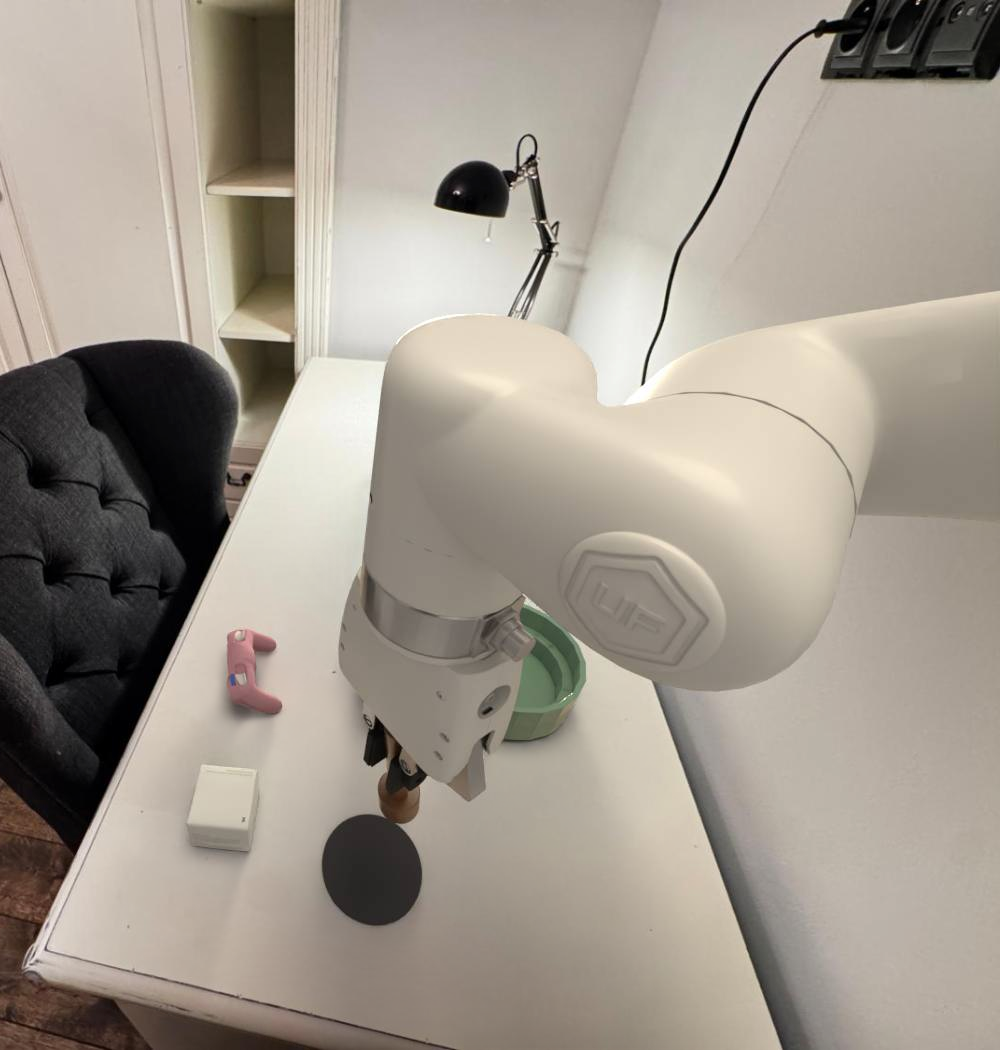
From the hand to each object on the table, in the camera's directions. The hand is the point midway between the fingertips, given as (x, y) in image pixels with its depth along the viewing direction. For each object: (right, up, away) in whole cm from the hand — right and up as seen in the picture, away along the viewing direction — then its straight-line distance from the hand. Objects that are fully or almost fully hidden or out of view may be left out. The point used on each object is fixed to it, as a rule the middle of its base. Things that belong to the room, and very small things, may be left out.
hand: (394, 765), depth 40 cm
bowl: (+17, -2, +27) cm, 32 cm away
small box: (-14, -12, +15) cm, 24 cm away
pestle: (+1, -6, +6) cm, 8 cm away
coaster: (0, -14, +12) cm, 19 cm away
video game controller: (-12, -2, +27) cm, 30 cm away
